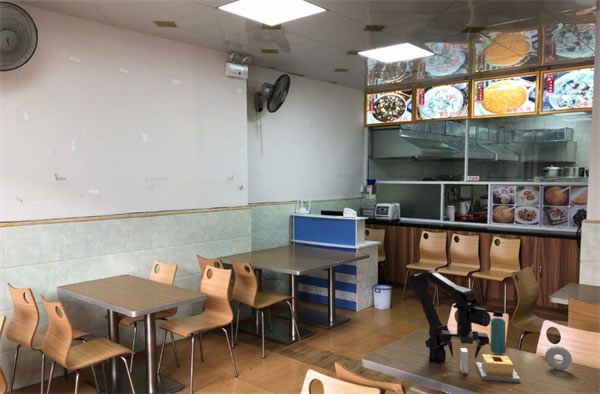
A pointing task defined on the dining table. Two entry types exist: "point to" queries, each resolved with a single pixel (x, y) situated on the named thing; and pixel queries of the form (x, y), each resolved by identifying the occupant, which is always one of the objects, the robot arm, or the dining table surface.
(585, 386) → the dining table surface
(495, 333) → the beverage bottle
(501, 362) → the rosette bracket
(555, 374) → the dining table surface
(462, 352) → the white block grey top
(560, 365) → the donut
